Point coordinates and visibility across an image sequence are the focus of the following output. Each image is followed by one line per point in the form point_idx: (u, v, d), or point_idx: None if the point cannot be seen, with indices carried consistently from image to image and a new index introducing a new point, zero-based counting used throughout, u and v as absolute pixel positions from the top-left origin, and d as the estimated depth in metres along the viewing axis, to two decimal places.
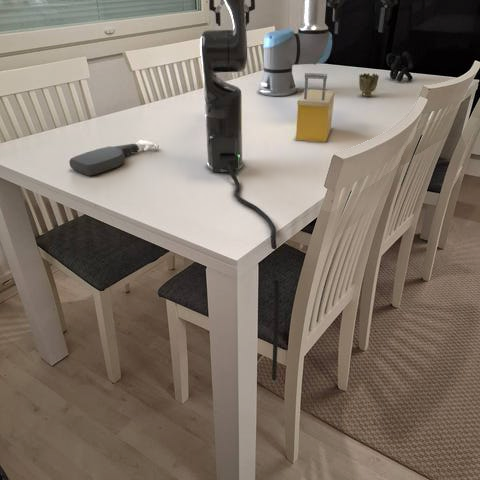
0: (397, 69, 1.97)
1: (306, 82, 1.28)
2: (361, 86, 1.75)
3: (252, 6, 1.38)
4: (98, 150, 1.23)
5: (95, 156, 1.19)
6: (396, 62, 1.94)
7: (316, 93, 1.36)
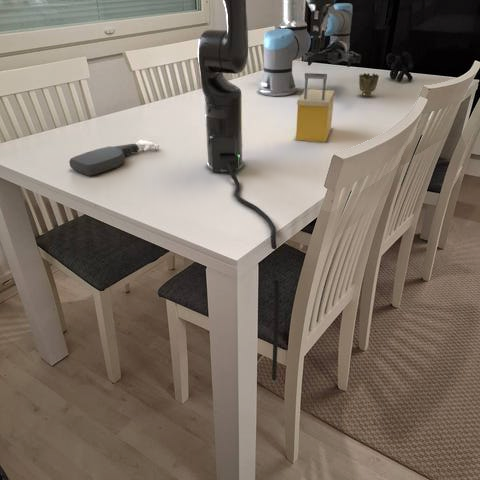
0: (397, 69, 1.97)
1: (306, 82, 1.28)
2: (361, 86, 1.75)
3: None
4: (98, 150, 1.23)
5: (95, 156, 1.19)
6: (396, 62, 1.94)
7: (316, 93, 1.36)
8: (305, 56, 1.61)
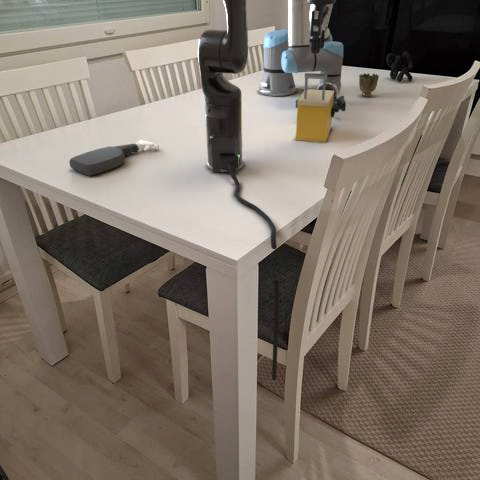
0: (397, 69, 1.97)
1: (306, 82, 1.28)
2: (361, 86, 1.75)
3: None
4: (98, 150, 1.23)
5: (95, 156, 1.19)
6: (396, 62, 1.94)
7: (316, 93, 1.36)
8: None
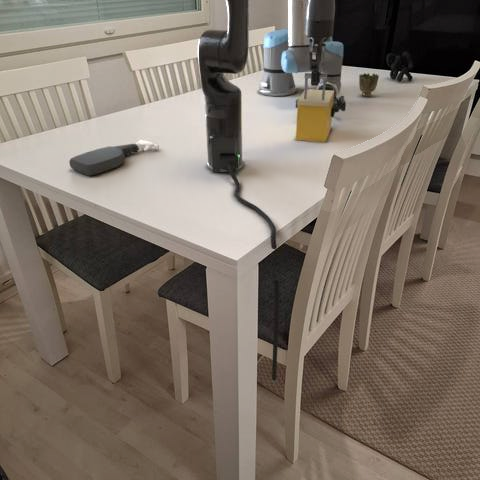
0: (397, 69, 1.97)
1: (306, 82, 1.28)
2: (361, 86, 1.75)
3: (310, 66, 1.23)
4: (98, 150, 1.23)
5: (95, 156, 1.19)
6: (396, 62, 1.94)
7: (316, 93, 1.36)
8: None
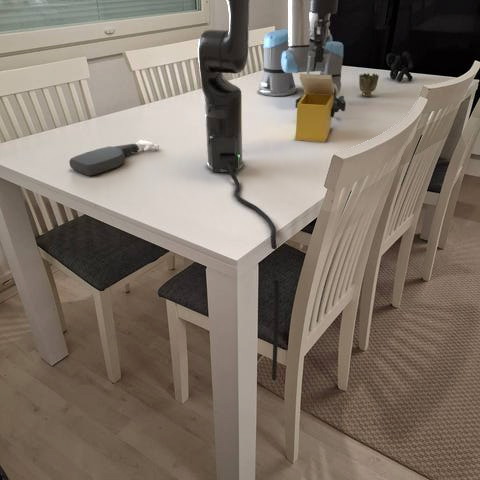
0: (397, 69, 1.97)
1: (309, 60, 1.29)
2: (361, 86, 1.75)
3: None
4: (98, 150, 1.23)
5: (95, 156, 1.19)
6: (396, 62, 1.94)
7: None
8: None
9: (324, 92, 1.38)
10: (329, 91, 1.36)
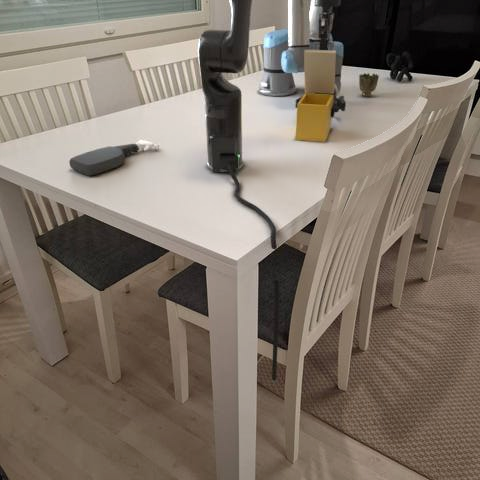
0: (397, 69, 1.97)
1: (314, 47, 1.34)
2: (361, 86, 1.75)
3: (319, 34, 1.30)
4: (98, 150, 1.23)
5: (95, 156, 1.19)
6: (396, 62, 1.94)
7: None
8: None
9: (324, 89, 1.38)
10: (330, 84, 1.36)
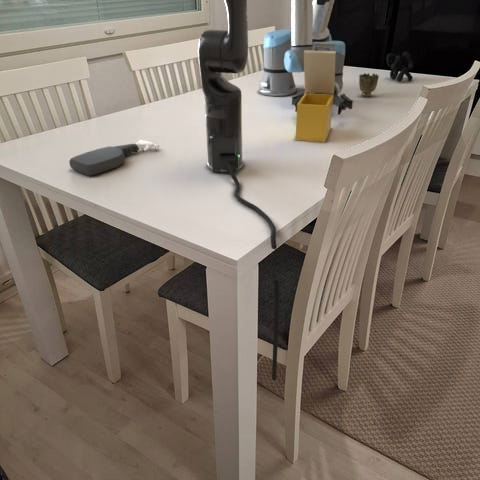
0: (397, 69, 1.97)
1: (314, 47, 1.33)
2: (361, 86, 1.75)
3: None
4: (98, 150, 1.23)
5: (95, 156, 1.19)
6: (396, 62, 1.94)
7: None
8: (293, 100, 1.51)
9: (324, 89, 1.38)
10: (330, 85, 1.36)
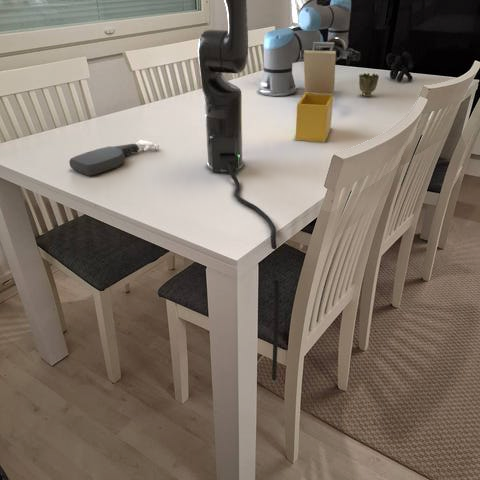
0: (397, 69, 1.97)
1: (314, 47, 1.33)
2: (361, 86, 1.75)
3: None
4: (98, 150, 1.23)
5: (95, 156, 1.19)
6: (396, 62, 1.94)
7: None
8: (302, 53, 1.53)
9: (324, 89, 1.38)
10: (330, 85, 1.36)
